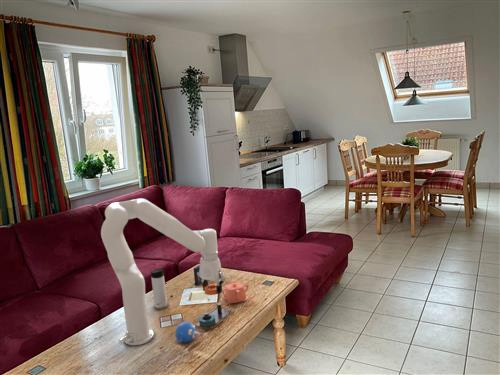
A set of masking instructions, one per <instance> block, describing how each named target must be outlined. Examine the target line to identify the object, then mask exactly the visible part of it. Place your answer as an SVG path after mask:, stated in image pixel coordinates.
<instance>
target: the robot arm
mask: <svg viewBox="0 0 500 375" xmlns="http://www.w3.org/2000/svg"><path fill="white" fill-rule="evenodd" d="M104 216H105V220H103V222H102V225H101V229H100V237H101V239H102V240H101V241H102V243H103V245H104V248H105V250H106V252H107V259H108V261H109V262H110V265H111V267H112V269H113V270H114V271H113V272H114V274H115V276H116V278H117V280H118V282H119V284H120V287H121V292H122V293H121V295H122V304H123V311H124V319H125V326H126V331H125V332H124V334H125V335H124V336H123V337H121V338H119V339H118V342H119V344H120V345H122V344H124V343H125V344H127V345H128V346H142V345H144V344H146V343H148V342H150V341H151V340H152V339H153V338H154V334H155V333H154V331H153V330H152V329H151V328H150V322H149V320H150V319H149V314H148V312H149V311H148V304H147V297H146V281H145V277H144V275H143V274H142V272H141V271H140V269H139V268H138V266H137V263H136V261H135V258H134V254H133V251H132V250H131V249H130V247H129V245H128V242H127V241H126V238H125V235H124V229H125V226H126V225H127V224H128V222H129V220H133V219H136V218H137V219H139V220H140V221H142V222H143V223H144V224H147V225H148V226H150V227H152V228H153V229H155V230H156V231H158V232H159V233H161V234H163V235H164V236H166V237H168V238H170V239H172V240H173V241H175V242H177V243H178V244H181V246H183V247H184V248H187V249H188V250H189V251H191V252H195V253H199V254H200V256H201V257H200V260H199V265H200V271H199V272H198V273H197V275H198V276H199V278H200V280H201V282H202V283H201V284H202V291H203V292H205V290H204V287H205V286H207V285H209V282H208V281H211V282H214V283H215V284H217V286H216V289H217V294H216V295H219V294H221V293H223V292H222V291H223V286H222V285H223V284H224V283H225V281H226V280H227V276H226V275H225V274H224V273H223V272H222V270H223V269H222V263H221V260H220V258H219V252H218V251H219V250H218V236H217V231H216V230H215V229H214V228H204V229H201V230H192V229H190V228H189V227H188V226H186V225H185V224H184V223H182V222H181V221H179V219H178V218H176V217H175V216H173V215H172V214H169V213H168V212H166V211H165V210H163V209H161V208H160V207H158V206H157V205H156V204H154V203H152V202H151V201H149V200H148V199H146V198H136V199H135V198H134V199H130V200H124V201H118V202H112V203H111V204H109V205H108V206H106V208H105V210H104Z"/></svg>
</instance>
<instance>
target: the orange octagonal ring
mask: <svg viewBox="0 0 500 375" xmlns="http://www.w3.org/2000/svg"><path fill="white" fill-rule="evenodd" d="M216 286H217V284H216V283H208V285H207V286H205V287H204V290H205V291H204V294H205V295H207V296H215V295H218V294H217V289H216Z"/></svg>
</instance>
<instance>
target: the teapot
mask: <svg viewBox="0 0 500 375" xmlns="http://www.w3.org/2000/svg"><path fill="white" fill-rule="evenodd" d="M249 287H250V286H249V284H242V283H241V282H230V283H228V284H225V286H224V288H222V292H221V293H222V295H223V296H222V299H223V300H224V301H227V303H228V304H235V303H236V304H238V303H242V302H245V301H246V300H247V293H246V292H247V291H248V290H249Z"/></svg>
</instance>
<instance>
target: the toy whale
mask: <svg viewBox="0 0 500 375" xmlns="http://www.w3.org/2000/svg"><path fill="white" fill-rule="evenodd" d="M196 329H197V327H196V325H194V324H193V323H192V322H190V321H183V322H181V323H178V325H176V328H175V332H174V334H175V338H176V340H177V341H178V343H180V344H187V343H190V342H192V341H193V340H196V338H197V337H199V336H202V335H203V333H202V332H199V331H197V330H196Z"/></svg>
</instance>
